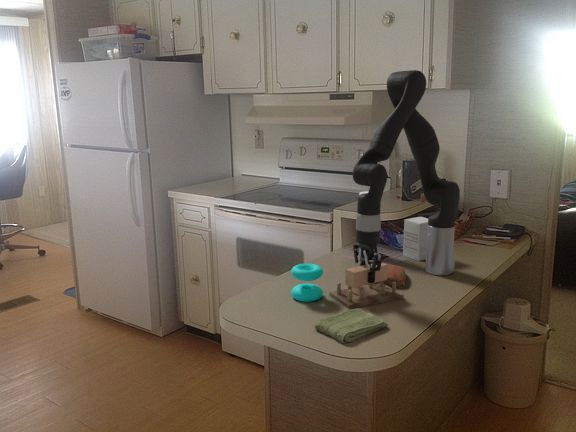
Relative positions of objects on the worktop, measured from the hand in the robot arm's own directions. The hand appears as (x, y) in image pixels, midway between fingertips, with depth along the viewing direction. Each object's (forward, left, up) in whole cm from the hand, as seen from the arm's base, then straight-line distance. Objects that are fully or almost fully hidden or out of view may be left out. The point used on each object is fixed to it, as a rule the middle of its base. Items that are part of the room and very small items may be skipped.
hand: (366, 279), depth 171 cm
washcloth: (+16, +18, -6) cm, 25 cm away
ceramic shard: (-14, -12, -6) cm, 19 cm away
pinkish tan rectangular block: (0, 0, -1) cm, 1 cm away
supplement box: (-42, -28, -6) cm, 51 cm away
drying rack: (0, 0, -6) cm, 6 cm away
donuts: (+17, -8, -6) cm, 20 cm away
